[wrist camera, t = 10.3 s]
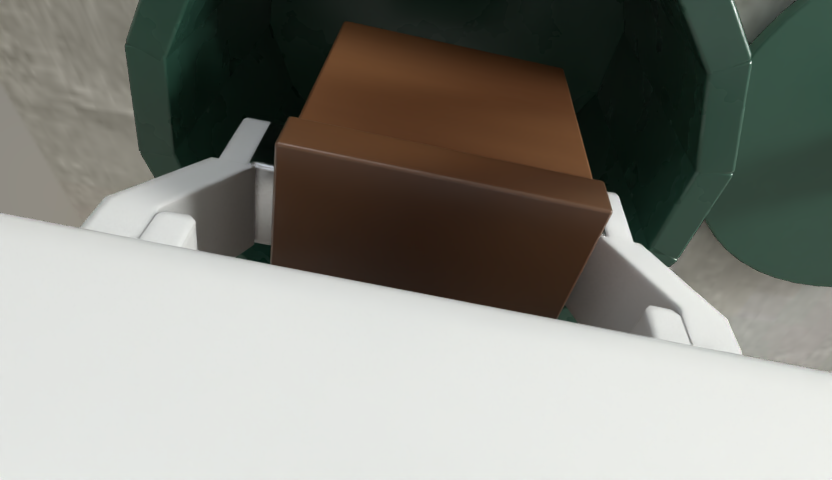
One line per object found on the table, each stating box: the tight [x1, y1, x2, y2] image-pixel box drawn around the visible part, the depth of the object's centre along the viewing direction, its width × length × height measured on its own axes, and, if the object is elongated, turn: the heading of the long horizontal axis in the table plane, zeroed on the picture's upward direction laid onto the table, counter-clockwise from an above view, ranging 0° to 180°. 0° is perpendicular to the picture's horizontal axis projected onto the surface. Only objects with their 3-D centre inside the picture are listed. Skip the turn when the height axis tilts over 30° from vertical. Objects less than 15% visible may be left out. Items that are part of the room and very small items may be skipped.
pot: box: [125, 0, 752, 323], centre depth 16 cm, size 13×18×8 cm
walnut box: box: [270, 21, 613, 319], centre depth 12 cm, size 5×5×5 cm
